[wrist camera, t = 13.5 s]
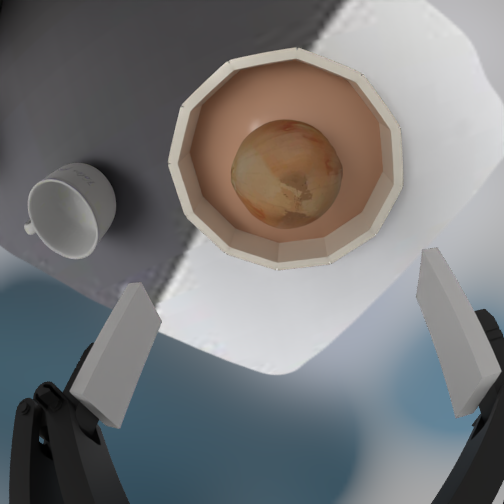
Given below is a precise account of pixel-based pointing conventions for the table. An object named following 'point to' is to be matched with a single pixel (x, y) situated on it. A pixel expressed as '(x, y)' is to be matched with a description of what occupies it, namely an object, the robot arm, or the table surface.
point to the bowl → (289, 108)
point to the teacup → (71, 209)
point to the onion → (286, 173)
